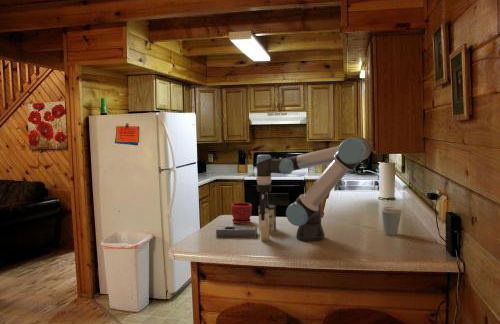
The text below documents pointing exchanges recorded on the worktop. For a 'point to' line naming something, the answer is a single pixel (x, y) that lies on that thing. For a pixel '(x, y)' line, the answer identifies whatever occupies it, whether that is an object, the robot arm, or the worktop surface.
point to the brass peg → (265, 229)
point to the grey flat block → (236, 231)
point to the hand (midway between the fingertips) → (264, 223)
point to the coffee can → (270, 218)
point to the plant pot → (241, 216)
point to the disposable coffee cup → (391, 220)
